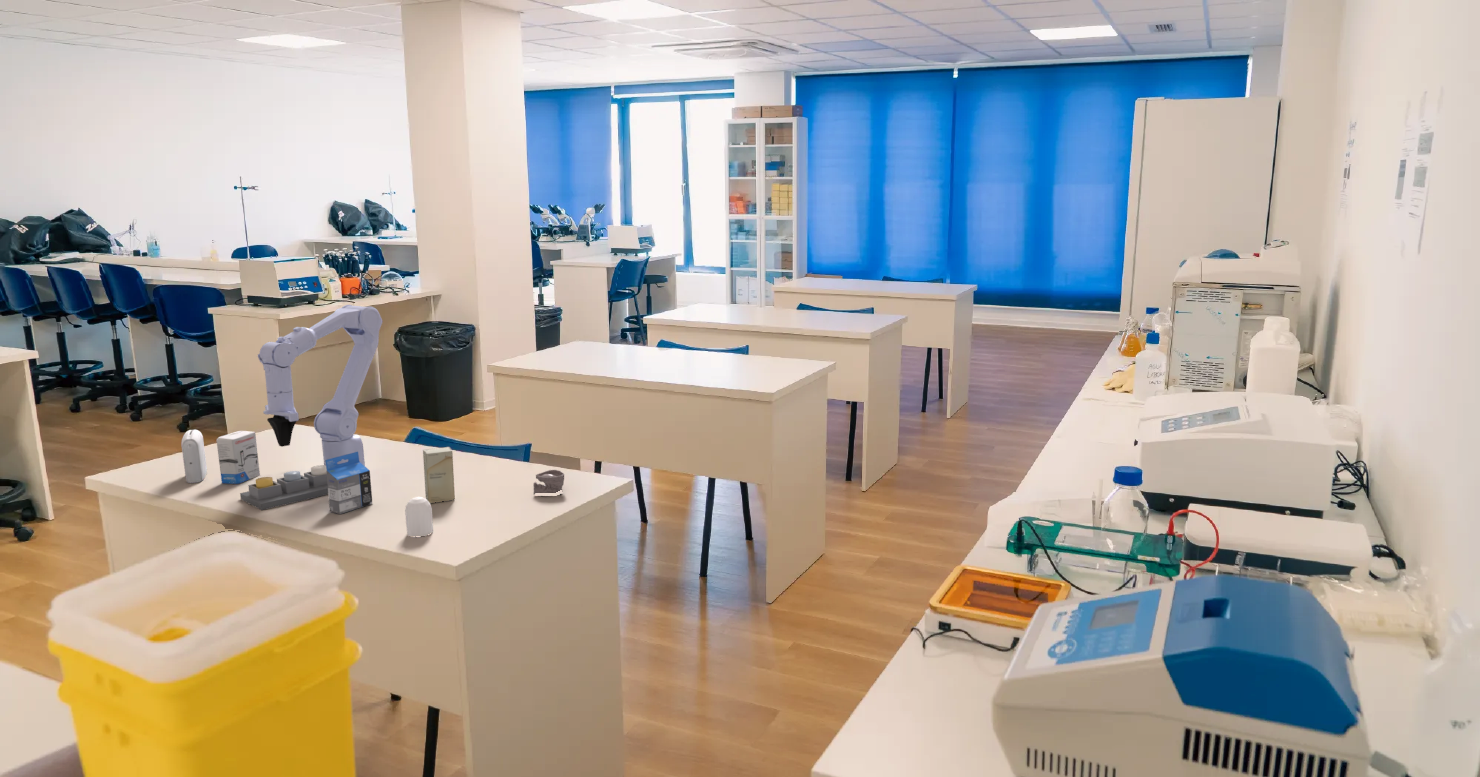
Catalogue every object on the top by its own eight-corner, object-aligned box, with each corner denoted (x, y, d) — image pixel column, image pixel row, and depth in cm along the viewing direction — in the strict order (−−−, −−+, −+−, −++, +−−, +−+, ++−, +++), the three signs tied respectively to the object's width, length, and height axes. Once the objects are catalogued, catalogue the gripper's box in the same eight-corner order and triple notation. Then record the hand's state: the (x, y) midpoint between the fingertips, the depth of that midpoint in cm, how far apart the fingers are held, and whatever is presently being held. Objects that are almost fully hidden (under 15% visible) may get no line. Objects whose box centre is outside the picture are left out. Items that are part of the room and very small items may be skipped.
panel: (323, 480, 241) (322, 465, 240) (346, 490, 233) (344, 474, 232) (240, 499, 226) (238, 483, 225) (261, 510, 218) (259, 493, 217)
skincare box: (428, 504, 222) (424, 454, 220) (425, 498, 226) (421, 449, 223) (456, 500, 225) (452, 450, 222) (452, 494, 229) (449, 446, 226)
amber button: (269, 487, 227) (268, 475, 226) (276, 490, 224) (275, 478, 224) (254, 490, 224) (252, 479, 224) (260, 493, 222) (259, 482, 221)
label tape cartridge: (339, 515, 215) (334, 462, 212) (329, 512, 217) (324, 460, 214) (373, 504, 222) (368, 453, 220) (362, 501, 224) (358, 450, 222)
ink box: (237, 484, 237) (232, 439, 235) (220, 483, 238) (215, 438, 236) (261, 474, 246) (256, 430, 243) (244, 473, 247) (239, 429, 244)
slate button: (297, 481, 231) (296, 470, 231) (303, 484, 229) (302, 472, 229) (282, 484, 229) (281, 473, 228) (288, 487, 226) (287, 476, 226)
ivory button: (323, 475, 236) (322, 464, 236) (330, 478, 234) (329, 467, 233) (309, 478, 234) (308, 467, 233) (315, 481, 231) (314, 470, 231)
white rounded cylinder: (437, 528, 206) (434, 493, 204) (427, 537, 201) (425, 501, 199) (412, 528, 206) (410, 493, 204) (403, 537, 201) (400, 501, 199)
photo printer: (204, 482, 240) (198, 434, 237) (184, 484, 238) (178, 436, 236) (208, 471, 249) (203, 425, 247) (190, 473, 247) (184, 427, 245)
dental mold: (546, 500, 225) (545, 480, 224) (528, 494, 229) (527, 474, 228) (572, 492, 230) (572, 472, 229) (555, 486, 235) (554, 467, 234)
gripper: (250, 389, 233) (255, 443, 236) (275, 397, 224) (280, 453, 226) (280, 385, 239) (284, 438, 241) (305, 393, 229) (309, 448, 232)
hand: (284, 445), depth 234 cm, fingers closed
